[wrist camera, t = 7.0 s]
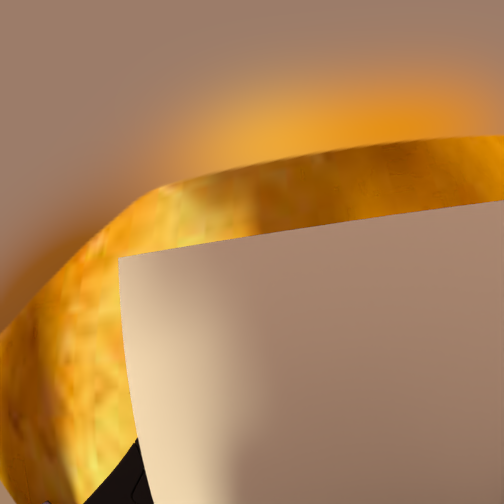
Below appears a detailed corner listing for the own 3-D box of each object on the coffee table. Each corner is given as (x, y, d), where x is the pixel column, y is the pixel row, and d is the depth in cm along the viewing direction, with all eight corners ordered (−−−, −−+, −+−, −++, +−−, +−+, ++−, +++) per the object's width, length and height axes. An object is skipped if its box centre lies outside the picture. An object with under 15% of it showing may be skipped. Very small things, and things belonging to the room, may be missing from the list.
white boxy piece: (379, 417, 14) (525, 522, 2) (251, 439, 14) (192, 607, 3) (362, 293, 16) (512, 198, 4) (233, 314, 16) (118, 258, 4)
